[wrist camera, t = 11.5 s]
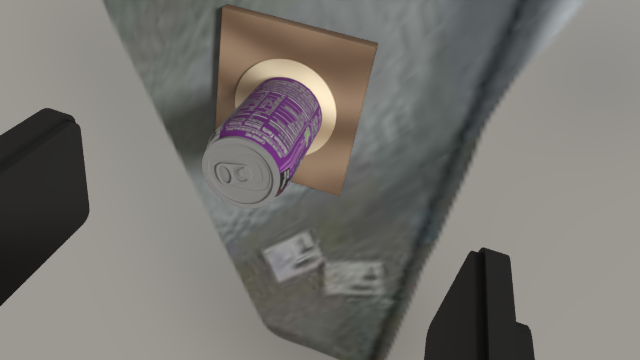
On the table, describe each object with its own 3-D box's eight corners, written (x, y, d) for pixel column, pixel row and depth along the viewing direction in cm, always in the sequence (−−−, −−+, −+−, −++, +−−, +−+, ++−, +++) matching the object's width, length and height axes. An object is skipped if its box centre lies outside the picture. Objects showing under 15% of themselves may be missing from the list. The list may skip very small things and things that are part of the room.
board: (227, 4, 44) (220, 8, 43) (378, 43, 43) (375, 48, 42) (218, 153, 54) (211, 160, 52) (341, 189, 52) (338, 197, 51)
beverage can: (261, 144, 50) (210, 213, 40) (244, 76, 46) (184, 133, 36) (329, 142, 48) (293, 214, 38) (317, 71, 44) (274, 130, 34)
